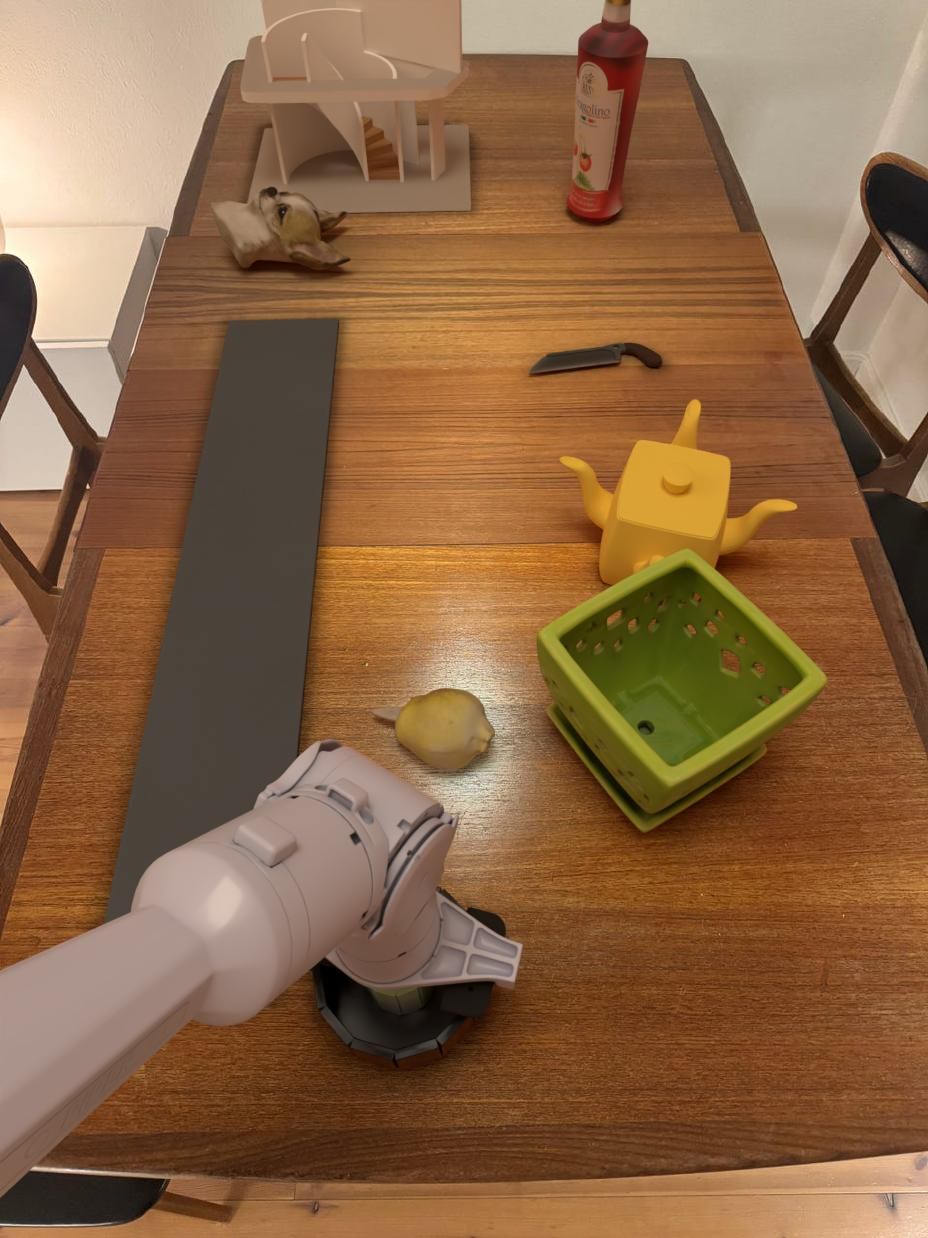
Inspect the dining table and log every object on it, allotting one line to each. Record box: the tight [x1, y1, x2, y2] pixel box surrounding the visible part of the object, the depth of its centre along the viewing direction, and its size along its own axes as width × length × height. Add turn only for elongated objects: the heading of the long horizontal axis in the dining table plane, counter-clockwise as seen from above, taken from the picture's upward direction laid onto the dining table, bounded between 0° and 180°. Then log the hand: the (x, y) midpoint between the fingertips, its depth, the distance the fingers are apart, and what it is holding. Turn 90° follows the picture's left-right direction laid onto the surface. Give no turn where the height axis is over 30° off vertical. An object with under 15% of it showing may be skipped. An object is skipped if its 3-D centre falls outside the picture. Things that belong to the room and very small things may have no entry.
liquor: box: [565, 0, 649, 223], centre depth 96 cm, size 7×7×28 cm
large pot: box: [310, 885, 477, 1071], centre depth 55 cm, size 10×10×4 cm
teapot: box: [559, 399, 798, 603], centre depth 73 cm, size 15×14×10 cm
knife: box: [528, 342, 663, 375], centre depth 91 cm, size 14×4×1 cm, turn 100°
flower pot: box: [536, 548, 828, 834], centre depth 61 cm, size 14×14×13 cm
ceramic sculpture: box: [210, 187, 351, 271], centre depth 99 cm, size 11×9×15 cm
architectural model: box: [239, 0, 472, 214], centre depth 104 cm, size 28×21×23 cm
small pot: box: [367, 985, 435, 1015], centre depth 54 cm, size 4×4×6 cm
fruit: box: [372, 687, 496, 771], centre depth 65 cm, size 6×6×10 cm
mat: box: [102, 318, 340, 925], centre depth 76 cm, size 69×12×1 cm, turn 1°
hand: (399, 966), depth 54 cm, fingers open, 7 cm apart
